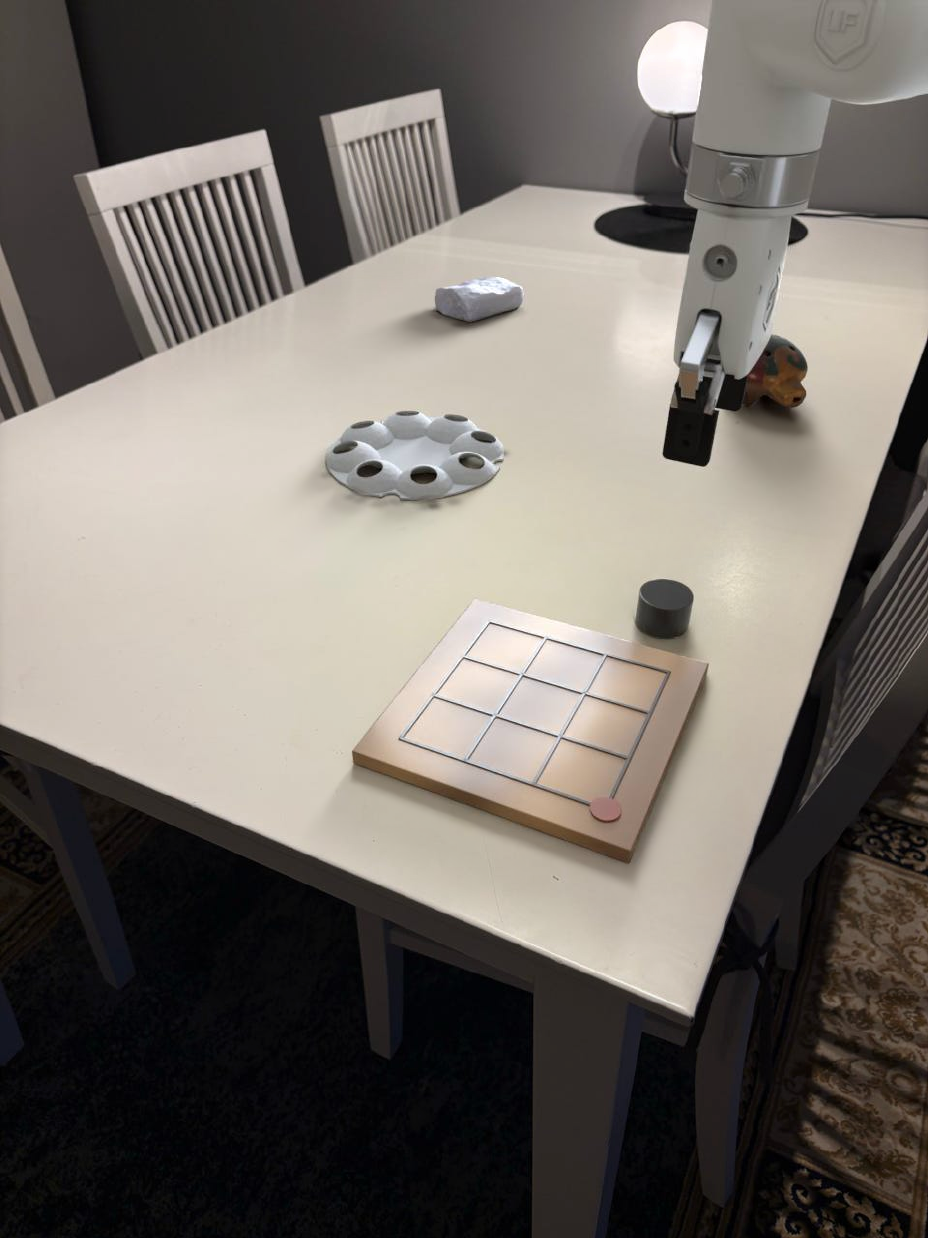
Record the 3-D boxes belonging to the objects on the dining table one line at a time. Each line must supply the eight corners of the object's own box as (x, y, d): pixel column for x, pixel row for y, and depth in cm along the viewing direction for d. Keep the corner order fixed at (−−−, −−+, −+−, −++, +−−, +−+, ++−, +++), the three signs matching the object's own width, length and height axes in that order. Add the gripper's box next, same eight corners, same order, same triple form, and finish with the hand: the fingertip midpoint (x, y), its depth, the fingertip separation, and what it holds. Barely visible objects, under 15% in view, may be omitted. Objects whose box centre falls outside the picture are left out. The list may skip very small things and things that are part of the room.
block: (429, 320, 141) (471, 323, 134) (425, 287, 139) (467, 289, 131) (486, 306, 147) (529, 308, 140) (483, 275, 145) (526, 275, 138)
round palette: (329, 507, 92) (327, 489, 90) (323, 424, 107) (322, 408, 106) (519, 492, 94) (520, 474, 93) (487, 413, 109) (487, 397, 108)
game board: (706, 674, 71) (709, 661, 70) (629, 864, 56) (631, 850, 56) (474, 609, 78) (474, 596, 77) (352, 763, 63) (351, 749, 63)
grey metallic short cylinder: (694, 615, 77) (699, 586, 75) (680, 644, 74) (686, 615, 72) (644, 602, 79) (648, 573, 77) (628, 630, 75) (632, 601, 74)
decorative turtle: (748, 369, 120) (765, 309, 115) (825, 421, 110) (847, 358, 104) (687, 377, 117) (701, 316, 112) (760, 432, 106) (780, 367, 101)
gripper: (785, 217, 48) (726, 498, 59) (834, 157, 61) (778, 398, 71) (648, 201, 51) (615, 473, 61) (722, 146, 63) (684, 380, 74)
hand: (703, 432), depth 66 cm, fingers open, 9 cm apart
